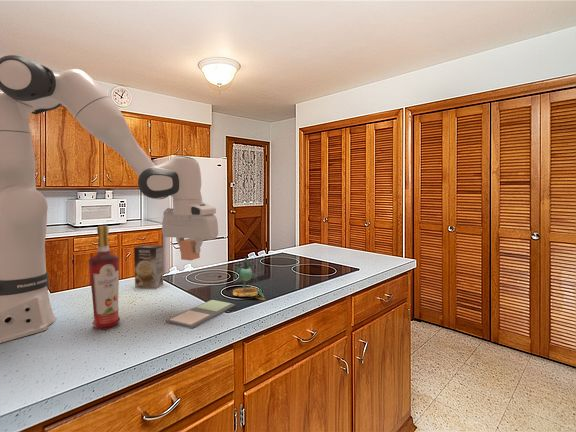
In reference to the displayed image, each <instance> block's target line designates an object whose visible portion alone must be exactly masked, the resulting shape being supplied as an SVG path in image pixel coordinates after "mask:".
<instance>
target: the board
mask: <svg viewBox="0 0 576 432" xmlns="http://www.w3.org/2000/svg"><path fill="white" fill-rule="evenodd" d="M234 307H236V304H235V303H232V302H231V303H230V302H226V301H222V300H214V299H210V300H207V301H206V302H203V303H200V304H199V305H197V306H194V307H192V308H190V309H188V310H186V311H184V312H181V313H179V314H177V315H175V316H172V317H170V318H168V319H165V323H166V324H171V325H176V326H180V327H184V328H188V329H194V328H196V327H199V326H200V325H202V324H204V323H206V322H208V321H210V320H211V319H214V318H216V317H217V316H219V315H222V314H223V313H225V312H227V311H229V310H230V309H233V308H234Z"/></svg>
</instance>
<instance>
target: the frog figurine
mask: <svg viewBox="0 0 576 432" xmlns="http://www.w3.org/2000/svg"><path fill="white" fill-rule="evenodd" d="M243 264H244V266H242V267H241V265H238V266H237V267H236V269H237V270H236V271H237V273H238V276H237V273H235V274H234V275H235V278H236V279H235V278H233V280H232V281H233V282H234V281H238V280H239V279H240V280H242V288H235V289H233V290H232V295H233V296H236V297H241V298H242V297H255V299H256V300H259V301H266V298H265V294H264V292H263V290H262V287H261V286H260V285H258V288H256V287H251V285H250V283H248V284H247V282H248V281H250V280H251V279H252V277H253V278H254V279H253V281H252V284H255V280H258V277H257V275H255V274H254V273H253V270H252V268H251V267H252V264H250V263H249V264H248V258H247V257H245V258H244V263H243ZM256 283H257V284H259V283H258V281H256ZM247 286H249V287H247ZM258 295H259V296H258Z"/></svg>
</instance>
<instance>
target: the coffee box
mask: <svg viewBox="0 0 576 432" xmlns="http://www.w3.org/2000/svg"><path fill="white" fill-rule="evenodd" d="M133 250H134V251H133V253H134V254H133V257H134V261H133V262H134V288H135V289H136V288H137V289H154V290H155V289H158V288H159V287H162V286H164V246H163V245H156V244H154V245H153V244H151V245H150V244H141V245H138V246H135V247H133Z"/></svg>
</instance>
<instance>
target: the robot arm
mask: <svg viewBox="0 0 576 432" xmlns="http://www.w3.org/2000/svg"><path fill="white" fill-rule="evenodd" d="M62 106H63V107H64V108H66V109H67V110H68V112H70V114H71V115H72V116H73V117H74V119H75V120H76V121H77V122H78V123H79V124H80V125H81V127H83V128H84V129H85V130H86V131H87V132H88V133H89V134H90V135H92V136H93V137H94V138H95V139H97V140H98V141H100V142H101V143H103V144H104V145H106V146H108V147H110V148H111V149H112V150H114V151H115V152H116V153H117V154H119V155H120V156H121V157H122V159H123V160H124V161H125V162H126V163H127V164H128V165H129V167H130V168H131V169H132V170H133V171H134V172H135V174H136V175H137V177H138V180H137V185H138V188H139V190H140V192H141V193H142V194H143V195H144V196H145V197H147V198H150V199H152V200H163V199H167V198H168V197H171V198H172V208H171V207H169V208H168V207H167V208H166V209H165V210H164V211H163V217H162V221H161V222H162V223H161V224H162V226H161V234H162V235H163V237H164V238H176V240H175V241H176V242H177V245H178V247H179V252H180V253H181V246H180V241H181V240H185V239H195V242H197V243H196V246H195V247H193V253H201V247H202V244H203V243H204V240H205V241H207V240H209V241H210V240H215V239H217V237H218V236H219V224H218V217H217V216H216V215H215V214H216V213H217V208H216V207H215V206H213V205H211V204H208V203H206V202H204V201H203V196H202V193H201V189H202V173H201V167H200V164H199V162H198V161H197V160H196V159H195V158H193V157H190V156H185V155H173V156H172V157H171V158H170V159H168V160H166V161H165V162H163V163H160V164H156V163H155V162H153V160H152V159H151V157H149V156H148V155H147V153H146V152H145V151H144V149H143V148H142V147H141V146H140V144H139V143H138V142H137V140H136V139H135V137H134V135H133V133H132V131H131V129H130V127H129V125H128V122H127V121H126V118H125V116H124V115H123V113H122V111H121V110H120V107H118V106H117V104H116V103H115V101H114V100H113V98H112V97H111V96H110V95H109V94H108V93H107V92H106V90H104V88H103V87H102V86H101V85H100V84H99V83H98V82H97V81H96V80H95V79H94V78H92V77H91V76H90V75H89V73H87V72H85V71H83V70H82V69H79V68H70V69H66V70H64V71H61V72H59V73H54V72H53V70H52V69H51V68H50V67H48V66H46V65H44V64H42V63H39V62H37V61H36V60H33V59H31V58H29V57H25V56H22V55H17V54H15V55H12V54H11V55H9V54H8V55H5V56H2V57H0V344H1V343H5V342H8V341H9V342H10V341H13V340H15V339H19V338H23V337H26V336H27V337H28V336H31V335H34V334H37V333H42V332H44V331H46V330H48V328H49V327H50V325H51V324H53V323H54V322H55V321H56V319H57V318H56V316H55V314H54V311H53V309H52V305H51V302H50V296H49V295H50V294H49V288H50V285H49V284H50V283H49V282H50V281H49V272H47V267H46V266H47V265H46V235H47V225H48V224H47V223H48V222H47V221H48V201H47V199H46V197H45V195H44V194H43V193H42V192H41V191H39V190H37V186H36V185H37V183H36V163H37V161H36V157H35V151H34V145H33V139H32V131H31V127H30V116H31V114H32V115H39V114H42V113H45V112H49V111H53V110H56V109H59V108H60V107H62Z"/></svg>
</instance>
